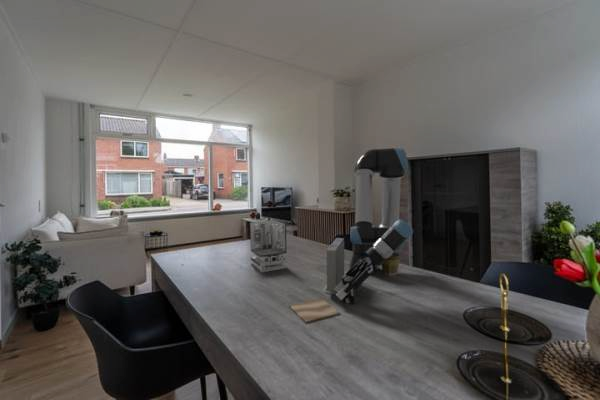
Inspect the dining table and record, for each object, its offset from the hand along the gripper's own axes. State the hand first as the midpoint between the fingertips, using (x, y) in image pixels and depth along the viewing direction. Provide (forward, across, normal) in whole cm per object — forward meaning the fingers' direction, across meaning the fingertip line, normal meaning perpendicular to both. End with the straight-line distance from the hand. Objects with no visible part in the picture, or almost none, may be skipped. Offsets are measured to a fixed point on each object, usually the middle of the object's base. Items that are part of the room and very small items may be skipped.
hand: (337, 294), depth 110 cm
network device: (+1, +17, -4) cm, 18 cm away
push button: (0, 0, -5) cm, 5 cm away
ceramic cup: (-20, +34, -25) cm, 47 cm away
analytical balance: (+25, +48, +20) cm, 58 cm away
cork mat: (+9, -6, +5) cm, 12 cm away
